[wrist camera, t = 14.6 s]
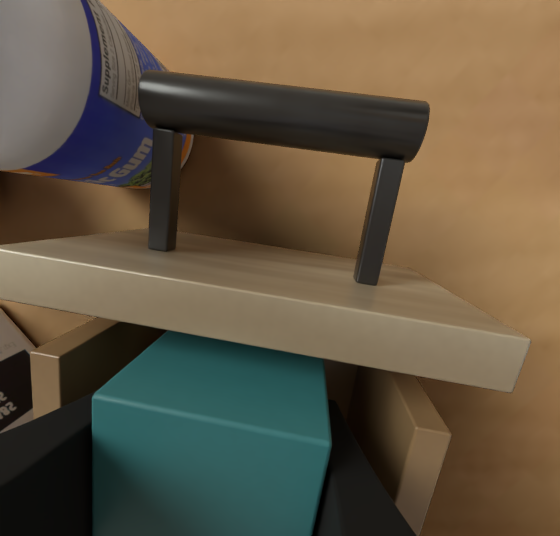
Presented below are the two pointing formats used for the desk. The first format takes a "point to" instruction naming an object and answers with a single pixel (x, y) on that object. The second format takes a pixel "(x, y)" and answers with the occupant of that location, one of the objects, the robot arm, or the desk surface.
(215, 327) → the drawer
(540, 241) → the desk surface
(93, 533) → the block
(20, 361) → the container
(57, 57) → the pill bottle
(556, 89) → the desk surface
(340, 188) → the desk surface
